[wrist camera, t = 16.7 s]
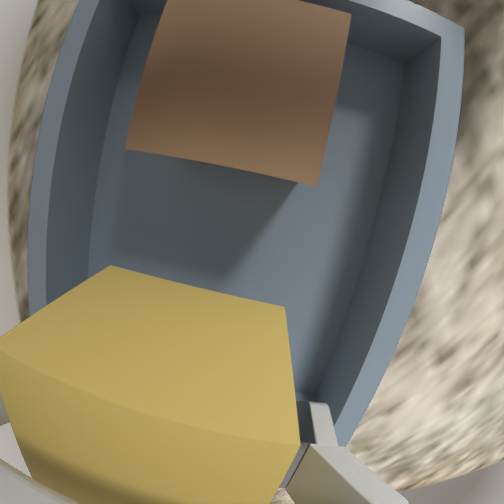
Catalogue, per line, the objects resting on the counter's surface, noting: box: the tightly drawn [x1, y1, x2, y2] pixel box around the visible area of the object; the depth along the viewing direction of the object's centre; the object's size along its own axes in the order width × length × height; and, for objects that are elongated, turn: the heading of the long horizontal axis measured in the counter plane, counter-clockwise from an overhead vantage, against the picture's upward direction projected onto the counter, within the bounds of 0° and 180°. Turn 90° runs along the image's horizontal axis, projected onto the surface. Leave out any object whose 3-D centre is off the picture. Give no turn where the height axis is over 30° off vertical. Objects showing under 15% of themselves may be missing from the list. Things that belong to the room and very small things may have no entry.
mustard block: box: [0, 265, 300, 504], centre depth 7 cm, size 5×5×5 cm
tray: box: [27, 0, 465, 447], centre depth 12 cm, size 18×14×4 cm
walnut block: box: [125, 0, 352, 187], centre depth 10 cm, size 5×5×5 cm
